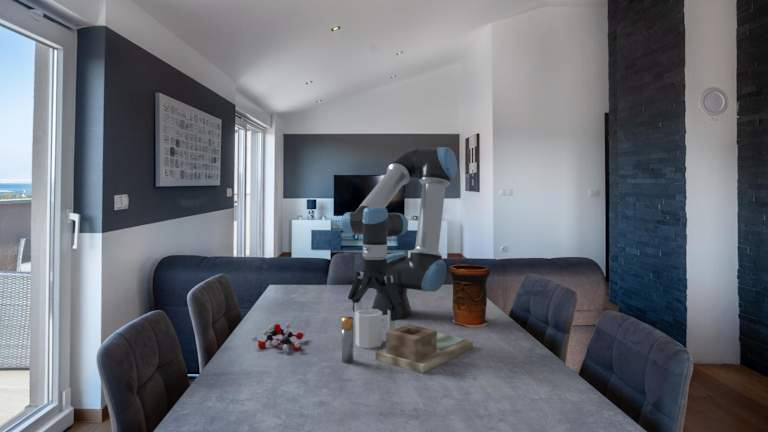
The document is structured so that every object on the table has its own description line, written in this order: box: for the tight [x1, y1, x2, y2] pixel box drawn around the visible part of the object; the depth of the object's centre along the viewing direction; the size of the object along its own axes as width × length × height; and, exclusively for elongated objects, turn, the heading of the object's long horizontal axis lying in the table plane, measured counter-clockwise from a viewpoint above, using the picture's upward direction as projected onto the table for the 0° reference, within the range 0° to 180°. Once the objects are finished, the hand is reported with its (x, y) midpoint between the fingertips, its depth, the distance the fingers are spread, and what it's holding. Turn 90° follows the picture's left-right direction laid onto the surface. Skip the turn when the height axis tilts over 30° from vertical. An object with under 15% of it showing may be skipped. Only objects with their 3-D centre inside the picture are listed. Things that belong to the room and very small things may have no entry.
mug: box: [354, 308, 388, 349], centre depth 142 cm, size 12×9×10 cm
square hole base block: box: [375, 324, 474, 374], centre depth 134 cm, size 16×26×8 cm, turn 140°
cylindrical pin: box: [341, 316, 354, 364], centre depth 127 cm, size 3×3×12 cm
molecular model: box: [251, 322, 306, 352], centre depth 140 cm, size 10×12×15 cm
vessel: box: [449, 263, 491, 328], centre depth 166 cm, size 14×14×20 cm
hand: (374, 326), depth 142 cm, fingers open, 13 cm apart
